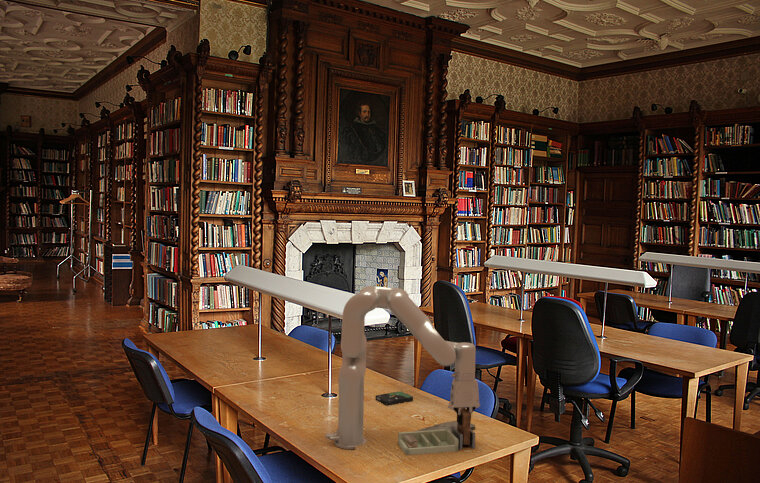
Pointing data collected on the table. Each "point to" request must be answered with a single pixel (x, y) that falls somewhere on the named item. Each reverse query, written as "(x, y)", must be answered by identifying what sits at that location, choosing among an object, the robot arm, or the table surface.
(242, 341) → the table surface
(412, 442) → the offcut upper
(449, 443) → the tray
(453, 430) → the stand
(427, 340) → the robot arm
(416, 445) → the offcut lower
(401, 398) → the disk drive
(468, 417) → the walnut board
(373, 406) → the table surface
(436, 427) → the stone slab
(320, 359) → the table surface
